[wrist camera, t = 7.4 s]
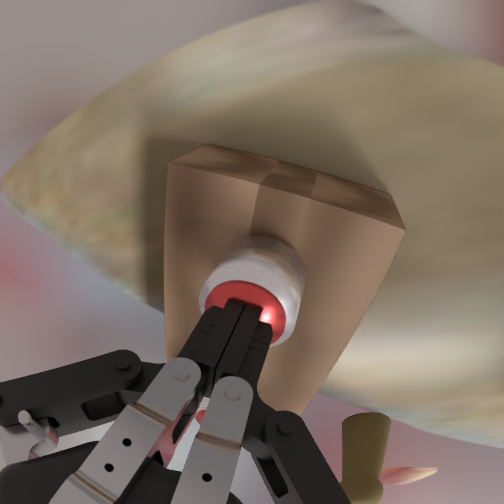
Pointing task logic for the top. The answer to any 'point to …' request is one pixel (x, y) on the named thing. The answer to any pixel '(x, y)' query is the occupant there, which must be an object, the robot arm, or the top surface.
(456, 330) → the top surface
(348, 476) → the cork
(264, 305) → the knob
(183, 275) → the console
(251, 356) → the robot arm
